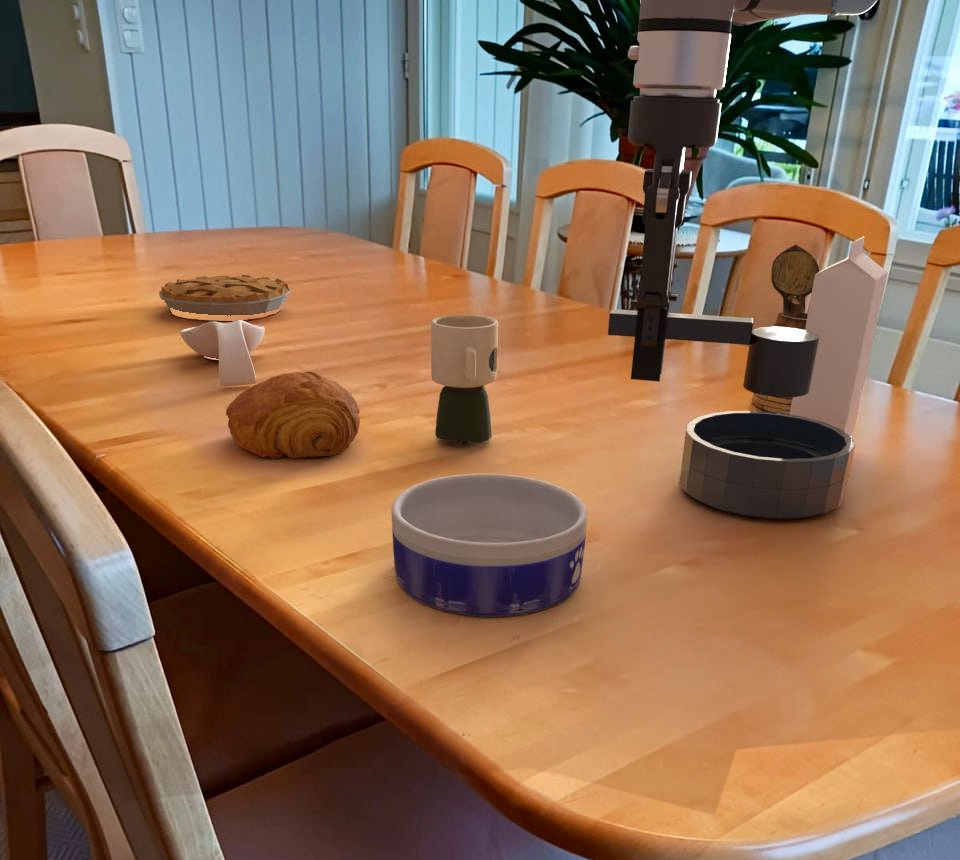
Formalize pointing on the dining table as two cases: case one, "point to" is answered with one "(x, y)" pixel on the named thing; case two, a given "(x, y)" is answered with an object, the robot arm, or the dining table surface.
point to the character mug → (464, 375)
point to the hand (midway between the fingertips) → (646, 375)
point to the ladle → (772, 350)
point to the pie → (225, 295)
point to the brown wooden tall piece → (790, 306)
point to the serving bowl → (766, 464)
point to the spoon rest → (227, 348)
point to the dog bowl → (488, 543)
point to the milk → (842, 337)
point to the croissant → (294, 417)
